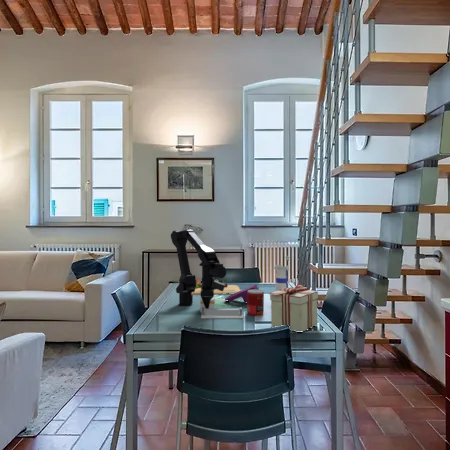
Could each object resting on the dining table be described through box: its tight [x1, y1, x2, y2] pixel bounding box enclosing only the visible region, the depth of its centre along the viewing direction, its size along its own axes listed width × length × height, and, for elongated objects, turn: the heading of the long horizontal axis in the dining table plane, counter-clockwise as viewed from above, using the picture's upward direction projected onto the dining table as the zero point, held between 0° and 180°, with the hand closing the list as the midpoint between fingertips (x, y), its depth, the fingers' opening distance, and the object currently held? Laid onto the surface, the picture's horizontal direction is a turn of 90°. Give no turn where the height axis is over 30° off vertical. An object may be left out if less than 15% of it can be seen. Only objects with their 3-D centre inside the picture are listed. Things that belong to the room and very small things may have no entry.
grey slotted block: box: [199, 297, 216, 313], centre depth 191 cm, size 7×6×6 cm
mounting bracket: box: [224, 283, 259, 303], centre depth 209 cm, size 10×8×18 cm
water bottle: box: [272, 255, 291, 292], centre depth 214 cm, size 8×9×25 cm
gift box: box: [269, 284, 319, 331], centre depth 164 cm, size 17×18×17 cm
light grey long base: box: [200, 306, 244, 319], centre depth 181 cm, size 19×9×4 cm, turn 91°
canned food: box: [246, 289, 265, 317], centre depth 185 cm, size 8×8×11 cm
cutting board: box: [192, 278, 242, 296], centre depth 241 cm, size 35×23×8 cm
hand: (207, 307), depth 191 cm, fingers open, 9 cm apart
